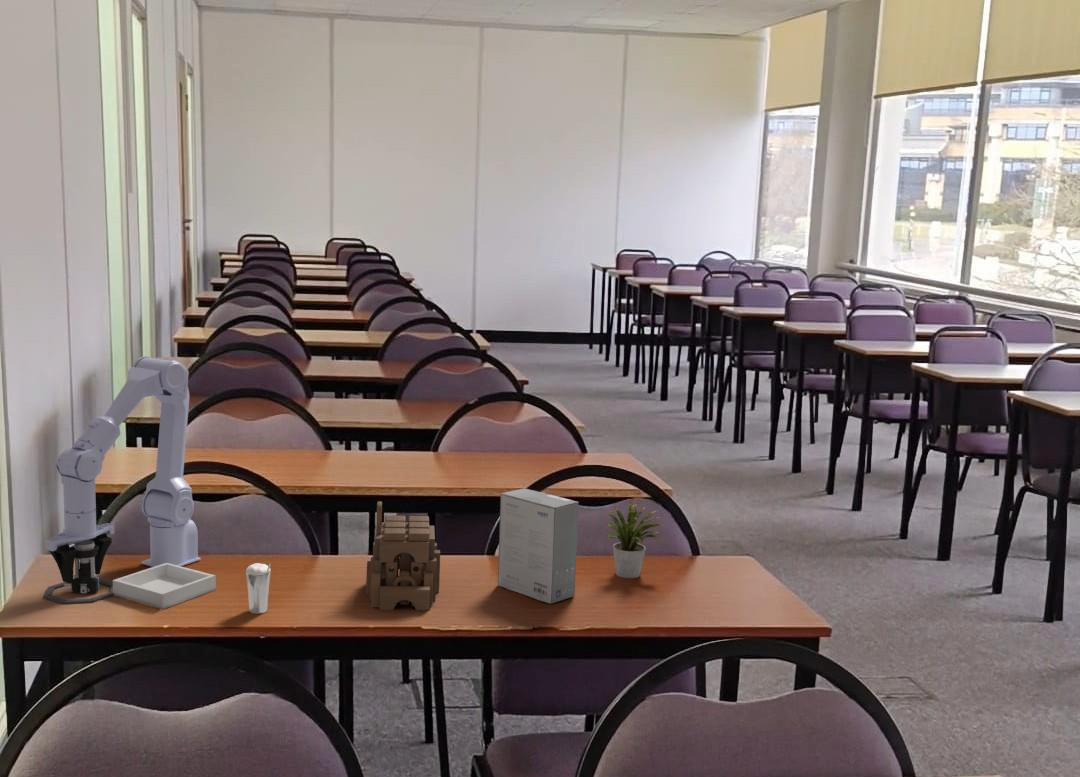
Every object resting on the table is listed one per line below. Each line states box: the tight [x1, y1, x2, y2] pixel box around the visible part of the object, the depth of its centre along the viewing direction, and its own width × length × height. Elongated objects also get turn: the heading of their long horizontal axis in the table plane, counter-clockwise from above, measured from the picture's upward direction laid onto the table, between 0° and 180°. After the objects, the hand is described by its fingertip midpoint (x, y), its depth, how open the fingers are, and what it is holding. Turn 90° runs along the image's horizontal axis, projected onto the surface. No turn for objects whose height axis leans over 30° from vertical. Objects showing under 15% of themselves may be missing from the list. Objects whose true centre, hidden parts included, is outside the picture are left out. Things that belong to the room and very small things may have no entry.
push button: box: [63, 540, 100, 595], centre depth 223 cm, size 7×5×10 cm
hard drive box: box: [497, 488, 580, 605], centre depth 233 cm, size 16×8×20 cm, turn 47°
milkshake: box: [245, 562, 272, 615], centre depth 216 cm, size 4×5×10 cm
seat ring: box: [43, 578, 115, 605], centre depth 223 cm, size 13×13×1 cm
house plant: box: [605, 500, 666, 579], centre depth 245 cm, size 14×14×16 cm
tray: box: [112, 563, 217, 610], centre depth 225 cm, size 14×14×3 cm
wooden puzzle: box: [365, 500, 441, 611], centre depth 230 cm, size 22×15×19 cm, turn 6°
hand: (81, 577), depth 223 cm, fingers open, 6 cm apart
